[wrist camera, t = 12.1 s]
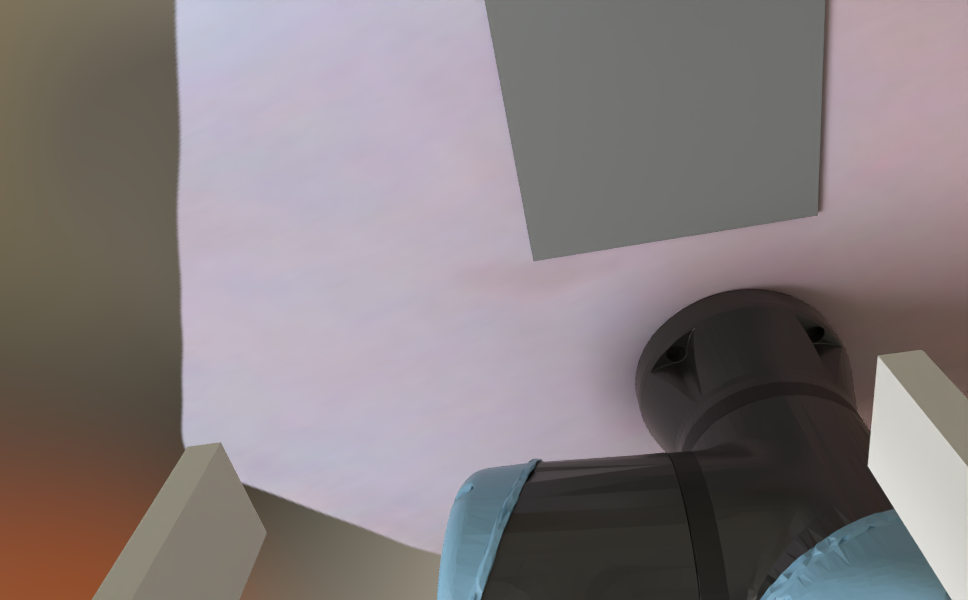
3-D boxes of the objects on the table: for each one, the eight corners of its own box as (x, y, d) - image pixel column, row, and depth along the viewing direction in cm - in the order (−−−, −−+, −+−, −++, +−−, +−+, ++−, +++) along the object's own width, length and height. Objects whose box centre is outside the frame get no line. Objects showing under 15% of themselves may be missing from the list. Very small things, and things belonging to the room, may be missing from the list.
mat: (815, 213, 45) (817, 215, 45) (533, 258, 48) (533, 261, 48) (826, -114, 36) (829, -114, 36) (478, -36, 39) (478, -35, 39)
